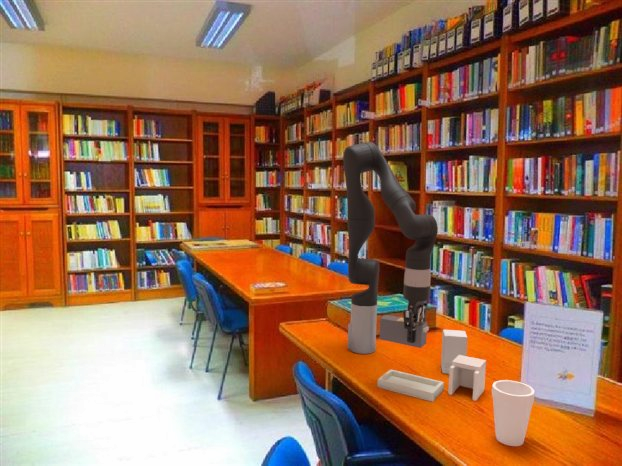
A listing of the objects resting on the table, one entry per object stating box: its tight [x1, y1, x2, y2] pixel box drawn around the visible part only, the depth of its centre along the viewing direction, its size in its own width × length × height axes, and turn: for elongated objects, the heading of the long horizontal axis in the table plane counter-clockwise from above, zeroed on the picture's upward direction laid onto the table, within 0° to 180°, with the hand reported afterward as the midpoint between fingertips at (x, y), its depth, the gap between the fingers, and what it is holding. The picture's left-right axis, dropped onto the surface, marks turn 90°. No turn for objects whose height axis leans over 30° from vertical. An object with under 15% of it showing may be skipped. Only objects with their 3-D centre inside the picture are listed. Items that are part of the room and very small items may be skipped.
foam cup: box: [491, 379, 536, 447], centre depth 124 cm, size 10×9×13 cm
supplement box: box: [440, 329, 468, 375], centre depth 167 cm, size 7×7×13 cm
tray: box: [377, 369, 445, 403], centre depth 152 cm, size 17×10×2 cm, turn 58°
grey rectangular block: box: [379, 314, 430, 349], centre depth 152 cm, size 4×14×7 cm, turn 58°
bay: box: [447, 355, 487, 402], centre depth 151 cm, size 8×9×9 cm
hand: (414, 339), depth 151 cm, fingers closed on grey rectangular block, 4 cm apart
